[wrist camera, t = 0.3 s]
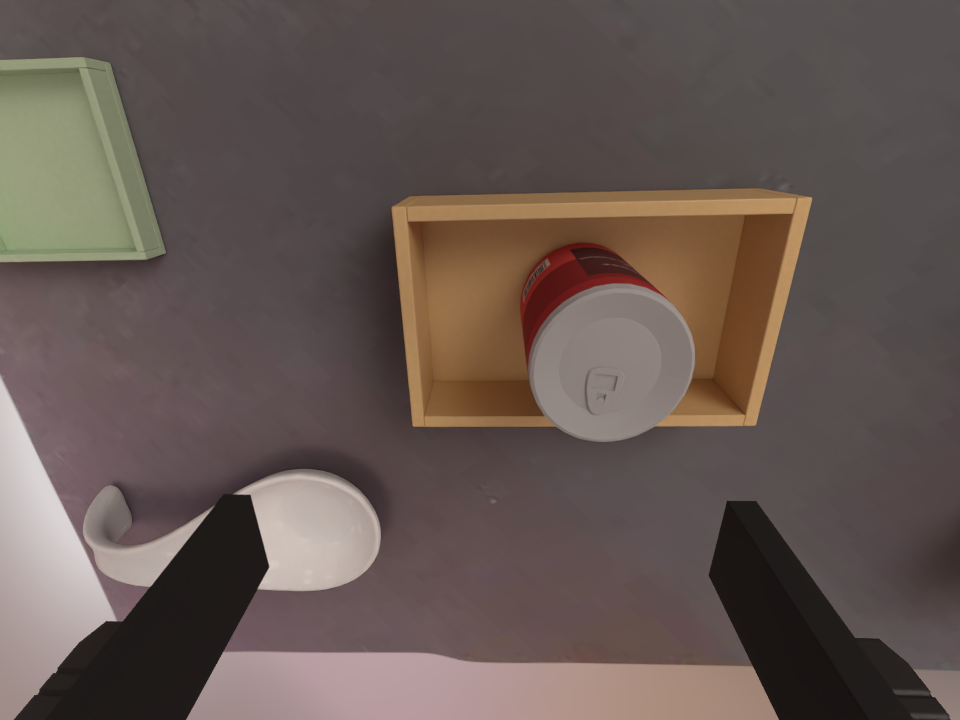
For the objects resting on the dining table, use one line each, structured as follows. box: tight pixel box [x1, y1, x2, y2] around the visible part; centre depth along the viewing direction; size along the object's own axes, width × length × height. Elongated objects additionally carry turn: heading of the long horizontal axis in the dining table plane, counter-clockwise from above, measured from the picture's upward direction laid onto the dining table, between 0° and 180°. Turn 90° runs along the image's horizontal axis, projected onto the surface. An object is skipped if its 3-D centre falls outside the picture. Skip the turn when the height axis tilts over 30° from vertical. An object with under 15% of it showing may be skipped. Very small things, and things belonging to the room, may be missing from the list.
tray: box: [0, 57, 166, 262], centre depth 29 cm, size 11×11×2 cm
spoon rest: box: [83, 469, 381, 591], centre depth 38 cm, size 24×12×7 cm, turn 92°
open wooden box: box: [391, 188, 812, 427], centre depth 30 cm, size 22×14×6 cm, turn 91°
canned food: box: [520, 243, 695, 442], centre depth 27 cm, size 8×8×11 cm
